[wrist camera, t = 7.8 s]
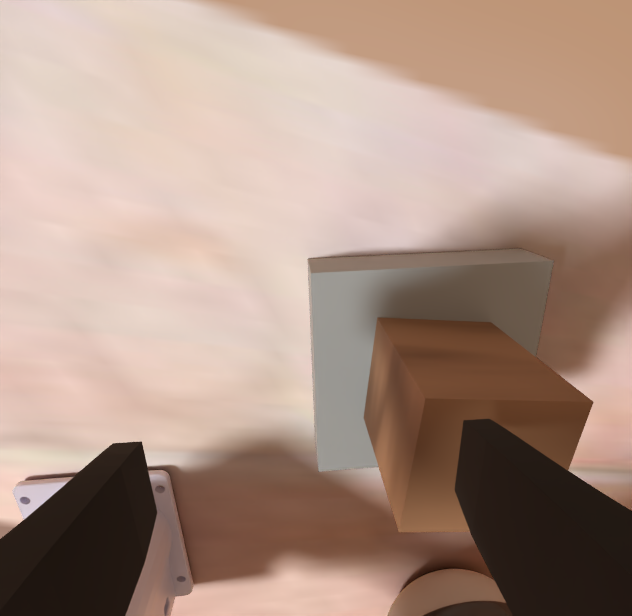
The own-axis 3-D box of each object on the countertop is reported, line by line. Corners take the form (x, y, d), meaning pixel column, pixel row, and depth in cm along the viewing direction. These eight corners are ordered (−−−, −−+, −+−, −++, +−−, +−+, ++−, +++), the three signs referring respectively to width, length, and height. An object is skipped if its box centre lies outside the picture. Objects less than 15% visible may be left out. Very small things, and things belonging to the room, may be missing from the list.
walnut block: (467, 419, 19) (545, 530, 13) (363, 417, 18) (399, 532, 13) (490, 322, 17) (593, 402, 11) (377, 317, 16) (425, 398, 11)
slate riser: (488, 419, 22) (517, 456, 20) (314, 431, 22) (318, 471, 19) (514, 245, 19) (554, 260, 16) (307, 256, 18) (310, 273, 16)
